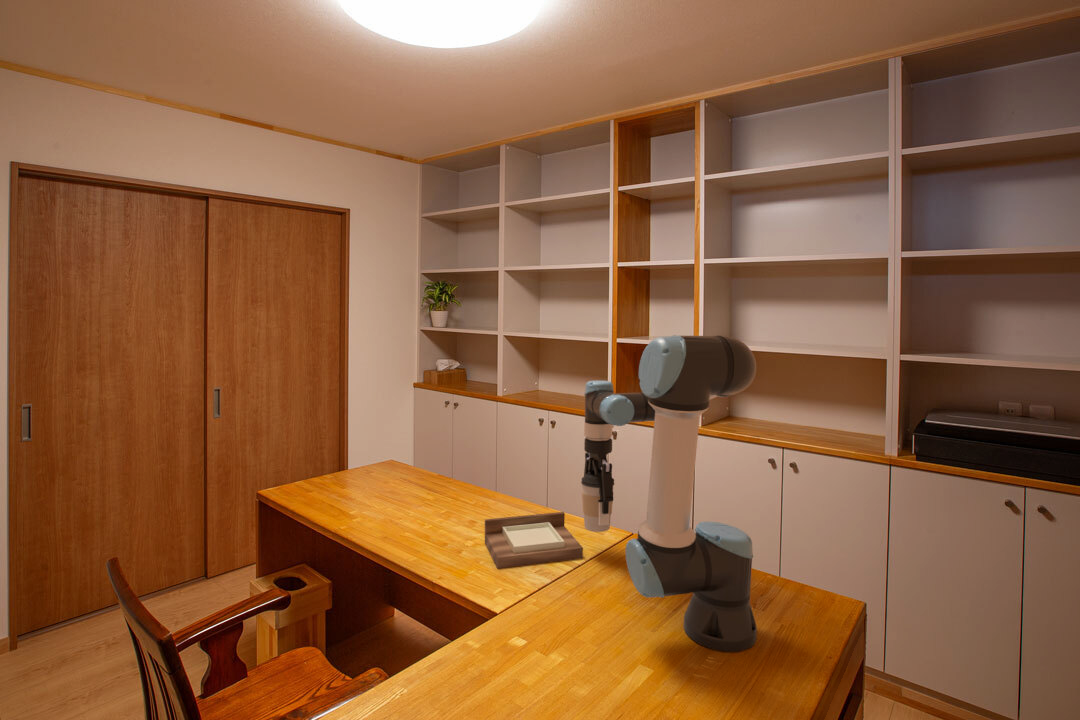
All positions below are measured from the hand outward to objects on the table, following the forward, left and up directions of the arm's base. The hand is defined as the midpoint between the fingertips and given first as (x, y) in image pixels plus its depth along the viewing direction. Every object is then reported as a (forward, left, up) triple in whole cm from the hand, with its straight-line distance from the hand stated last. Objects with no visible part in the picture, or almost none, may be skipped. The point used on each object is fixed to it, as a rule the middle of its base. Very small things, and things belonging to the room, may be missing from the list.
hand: (597, 518), depth 164 cm
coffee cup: (0, 0, -3) cm, 3 cm away
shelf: (+9, +16, -11) cm, 21 cm away
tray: (+9, +16, -8) cm, 20 cm away
